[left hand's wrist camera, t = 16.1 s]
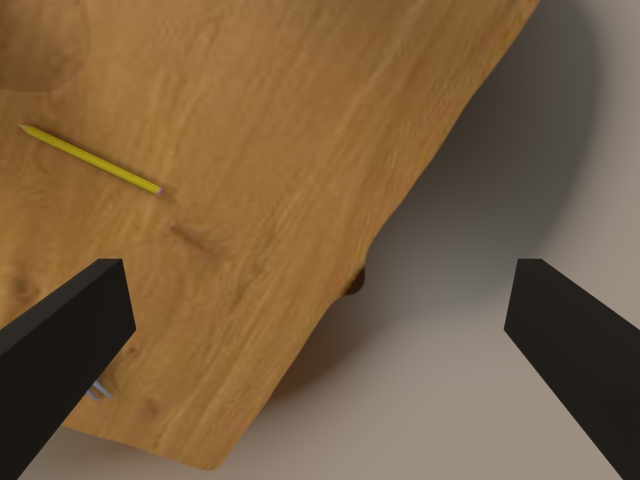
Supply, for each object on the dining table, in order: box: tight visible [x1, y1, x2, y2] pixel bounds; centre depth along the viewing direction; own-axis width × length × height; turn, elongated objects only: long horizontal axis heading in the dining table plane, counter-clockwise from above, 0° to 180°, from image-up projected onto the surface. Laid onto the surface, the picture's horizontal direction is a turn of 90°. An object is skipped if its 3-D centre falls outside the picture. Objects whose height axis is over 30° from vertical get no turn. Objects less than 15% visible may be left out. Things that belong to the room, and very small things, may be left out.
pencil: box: [18, 124, 163, 196], centre depth 42 cm, size 16×1×1 cm, turn 62°
